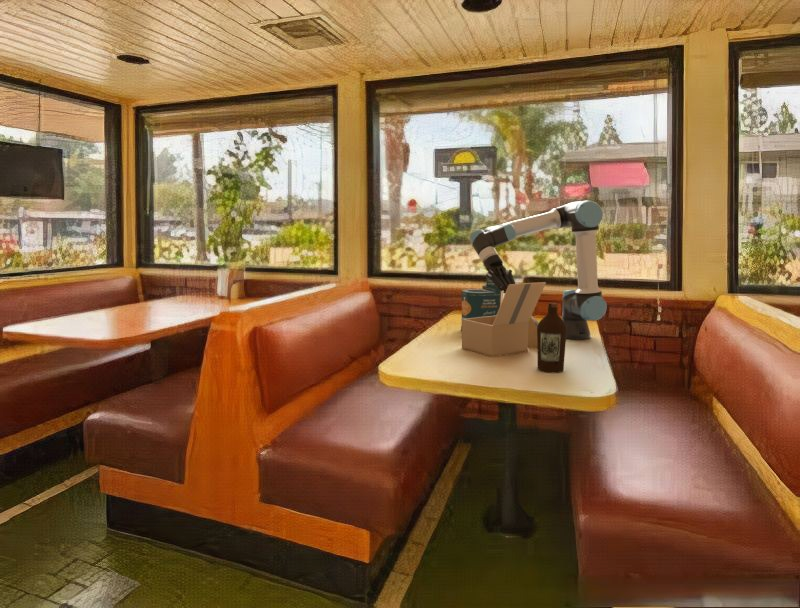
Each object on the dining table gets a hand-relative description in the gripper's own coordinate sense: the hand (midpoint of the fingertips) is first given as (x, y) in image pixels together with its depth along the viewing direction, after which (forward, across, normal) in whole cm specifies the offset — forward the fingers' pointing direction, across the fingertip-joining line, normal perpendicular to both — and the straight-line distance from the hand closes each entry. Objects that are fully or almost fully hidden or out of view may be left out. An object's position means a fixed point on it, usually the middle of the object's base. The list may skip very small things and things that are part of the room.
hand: (516, 302), depth 226 cm
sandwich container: (+10, -24, -22) cm, 34 cm away
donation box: (-20, -22, -52) cm, 60 cm away
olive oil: (+33, +5, +1) cm, 33 cm away
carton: (+6, 0, -25) cm, 26 cm away
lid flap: (+1, 0, +1) cm, 1 cm away
